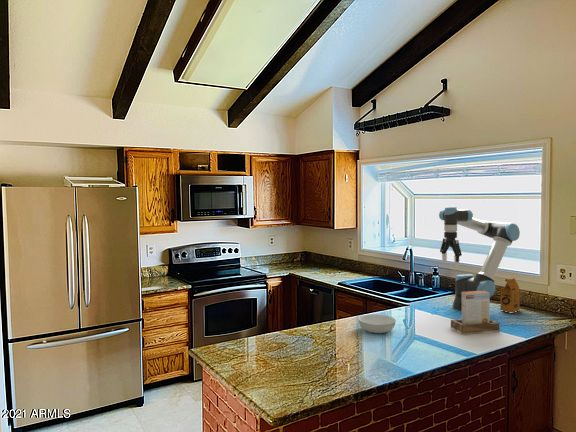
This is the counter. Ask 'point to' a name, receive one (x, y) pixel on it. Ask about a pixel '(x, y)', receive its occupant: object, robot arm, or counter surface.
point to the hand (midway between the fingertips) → (450, 265)
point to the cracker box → (475, 307)
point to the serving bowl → (376, 323)
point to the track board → (474, 327)
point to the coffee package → (510, 296)
